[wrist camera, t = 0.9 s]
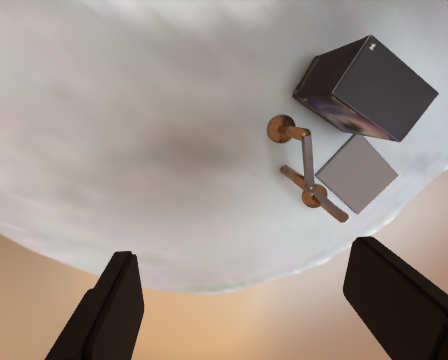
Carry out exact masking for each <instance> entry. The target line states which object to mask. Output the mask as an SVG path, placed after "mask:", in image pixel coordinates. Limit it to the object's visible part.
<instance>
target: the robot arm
mask: <svg viewBox="0 0 448 360" xmlns="http://www.w3.org/2000/svg"><path fill="white" fill-rule="evenodd" d="M343 293H344V296H345V297H346V299H347V300H348V301H349V303H350V304H351V306H352V307H353V308H354V310H355V311H356V312H357V314H358V315H359V316H360V318H361V319H362V320H363V322H364V323H365V324H366V326H367V327H368V329H369V330H370V331H371V332H372V334H373V335H374V336H375V338H376V339H377V341H378V342H379V343H380V344H381V346H382V347H383V348H384V350H385V351H386V353H387V354H388V355H389V357H390V358H391V359H392V360H448V294H446V293H445V292H444V291H442V290H441V289H440V288H439V287H437V286H436V285H435V284H433V283H432V282H431V281H430V280H428V279H427V278H426V277H424V276H423V275H422V274H420V273H419V272H418V271H417V270H415V269H414V268H413V267H411V266H410V265H409V264H407V263H406V262H405V261H404V260H402V259H401V258H400V257H398V256H397V255H396V254H395V253H393V252H392V251H391V250H389V249H388V248H387V247H385V246H384V245H383V244H382V243H380V242H379V241H378V240H376V239H375V238H374V237H371V236H368V237H358V238H356V240H355V241H353V243H352V247H351V252H350V257H349V262H348V267H347V271H346V276H345V280H344V286H343ZM143 313H144V300H143V294H142V288H141V281H140V275H139V268H138V262H137V256H136V255H135V254H133V255H132V252H131V251H121V252H115V253H114V254H113V256H112V258H111V260H110V261H109V263H108V265H107V266H106V268H105V270H104V271H103V273H102V275H101V277H100V278H99V280H98V282H97V283H96V285H95V287H94V288H93V289H89V290H88V291H87V293H85V295H84V297H83V298H82V300H81V301H80V303H79V305H78V306H77V308H76V310H75V311H74V313H73V314H72V316H71V318H70V319H69V321H68V322H67V324H66V326H65V327H64V329H63V331H62V332H61V334H60V336H59V337H58V339H57V340H56V342H55V344H54V345H53V347H52V348H51V350H50V352H49V353H48V355H47V357H46V358H45V360H131V357H132V354H133V350H134V346H135V343H136V339H137V336H138V332H139V329H140V325H141V321H142V318H143Z"/></svg>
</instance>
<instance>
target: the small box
mask: <svg viewBox="0 0 448 360" xmlns="http://www.w3.org/2000/svg"><path fill="white" fill-rule="evenodd" d="M438 94H439V93H438V92H437V91H436V90H435V89H433V88H432V87H431V86H430V85H429V84H428V83H427V82H425V81H424V80H423V79H422V78H421V77H420V76H419V75H417V74H416V73H415V72H414V71H413V70H412V69H411V68H410V67H408V66H407V65H406V64H405V63H404V62H403V61H401V60H400V59H399V58H398V57H397V56H396V55H395V54H393V53H392V52H391V51H390V50H389V49H388V48H387V47H385V46H384V45H383V44H382V43H381V42H379V41H378V40H377V39H376V38H375V37H374V36H373V35H369V36H366V37H365V38H362V39H360V40H358V41H355V42H352V43H350V44H348V45H345V46H342V47H340V48H338V49H335V50H333V51H330V52H328V53H325V54H322V55H319V56H316V57H315V59H314V60H313V62H312V64H311V65H310V67H309V69H308V71H307V72H306V74H305V76H304V77H303V78H302V80H301V82H300V83H299V84H298V86H297V88H296V90H295V92H294V94H293V97H294V98H295V99H297V100H298V101H300V102H301V103H302V104H304V105H305V106H307V107H308V108H310V109H311V110H313V111H314V112H315V113H317V114H318V115H320V116H321V117H323V118H324V119H326V120H327V121H328V122H330V123H331V124H333V125H334V126H336V127H337V128H339V129H340V130H342V131H343V132H346V133H352V134H358V135H363V136H369V137H374V138H380V139H385V140H390V141H396V142H401V141H402V140H403V139H404V137H405V136H406V135H407V134H408V132H409V131H410V130H411V129H412V127H413V126H414V125H415V124H416V122H417V121H418V120H419V118H420V117H421V116H422V115H423V113H424V112H425V111H426V109H427V108H428V107H429V106H430V104H431V103H432V102H433V100H434V99H435V98H436V97H437V95H438Z"/></svg>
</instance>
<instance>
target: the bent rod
mask: <svg viewBox="0 0 448 360" xmlns="http://www.w3.org/2000/svg"><path fill="white" fill-rule="evenodd" d="M268 135H269V137H270V138H271V139H272V140H273V141H275V142H277V143H285V142H287V141H289V140H290V139H291V138H295V139H298V140H301V141H302V152H303V165H304V176H302V175H301V174H299V173H298V172H296V171H295V170H293V169H291V168H290V167H288V166H286V165H285V166H283V167H282V168H281V173H283V174H284V175H285V176H286V177H288V178H289V179H290V180H291V181H293V182H294V183H295V184H297V185H298V186H299V187H300V188H302V189H303V190H304V192H303V195H302V199H303V202H304V203H305V204H306V205H307V206H308V207H311V208H317V207H319V206H321V207H322V208H323V209H325V210H326V211H327V212H328V213H329V214H331V215H332V216H333V217H334V218H336V219H337V220H338V221H339V222H345V221H347V219H348V214H347V213H345V212H344V211H342V210H341V209H340V208H338V207H337V206H335V205H334V204H333V203H332V202H331V201H330V200H329V199H327V191H326V189H325V188H324V187H323V186H321V185H319V184H314V171H313V155H312V139H311V132H310V130H308V129H305V128H299V127H295V123H294V121H293V119H292V118H291V117H289V116H286V115H278V116H276V117H274V118H273V119H272V120H271V121H270V123H269V125H268Z"/></svg>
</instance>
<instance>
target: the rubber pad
mask: <svg viewBox="0 0 448 360" xmlns="http://www.w3.org/2000/svg"><path fill="white" fill-rule="evenodd" d="M315 176H316V177H318V178H319V179H320V180H321V181H322V182H323V183H324V184H325V185H326V186H327V187H328V188H329V189H330V190H331V191H333V192H334V193H335V194H336V195H337V196H338V197H339V198H340V199H341V200H342V201H343V202H344V203H345V204H347V205H348V206H349V207H350V208H351V209H352V210H353V211H354V212H355V213H356V214H359V213H360V212H361V211H362V210H363V209H364V208H365V207H366V206H367V205H368V204H369V203H370V202H371V201H372V200H373V199H374V198H375V197H376V196H378V195H379V194H380V193H381V192H382V191H383V190H384V189H385V188H386V187H387V186H388V185H389V184H390V183H391V182H392V181H393V180H394V179H395V178H396V177H397V176H398V174H397V173H396V172H395V171H394V170H393V169H392V168H391V166H390V165H389V164H388V163H387V162H386V161H385V160H384V159H383V158H382V156H381V155H380V154H379V153H378V152H377V151H376V150H375V149H374V148H373V146H372V145H371V144H370V143H369V142H368V141H367V140H366V139H365V138H364V137H363V135H358V134H354V135H353V136H352V137H351V138H350V139H349V140H348V141H347V142H346V143H345V144H344V145H343V146H342V147H341V148H340V149H339V150H338V151H337V152H336V153H335V155H334V156H333V157H332V158H331V159H330V160H329V161H328V162H327V163H326V164H325V165H324V166H323V167H322V168H321V169H320V170H319V171H318V172H317V173H316V174H315Z"/></svg>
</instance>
